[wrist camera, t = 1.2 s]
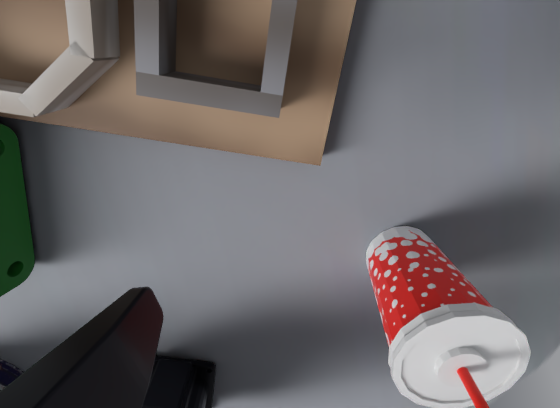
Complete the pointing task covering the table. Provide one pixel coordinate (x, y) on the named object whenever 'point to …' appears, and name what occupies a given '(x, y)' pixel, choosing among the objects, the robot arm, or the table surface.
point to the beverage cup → (440, 325)
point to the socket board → (179, 70)
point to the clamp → (13, 216)
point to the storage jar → (8, 373)
